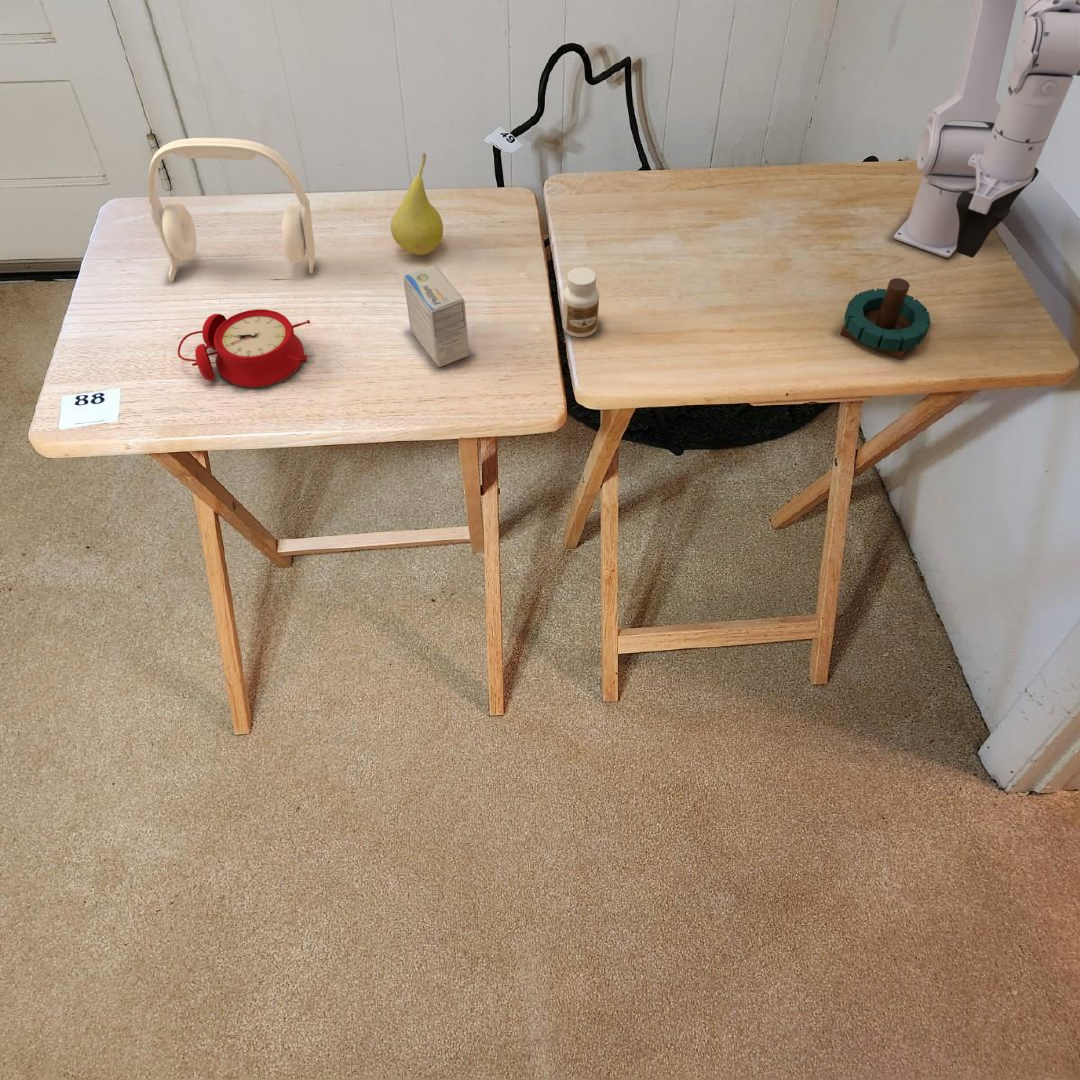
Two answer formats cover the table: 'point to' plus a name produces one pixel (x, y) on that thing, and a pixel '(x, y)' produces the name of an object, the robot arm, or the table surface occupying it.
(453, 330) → the medicine box
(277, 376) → the alarm clock
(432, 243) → the fruit
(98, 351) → the table surface
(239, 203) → the table surface
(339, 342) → the table surface
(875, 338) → the ring
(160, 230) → the headset
